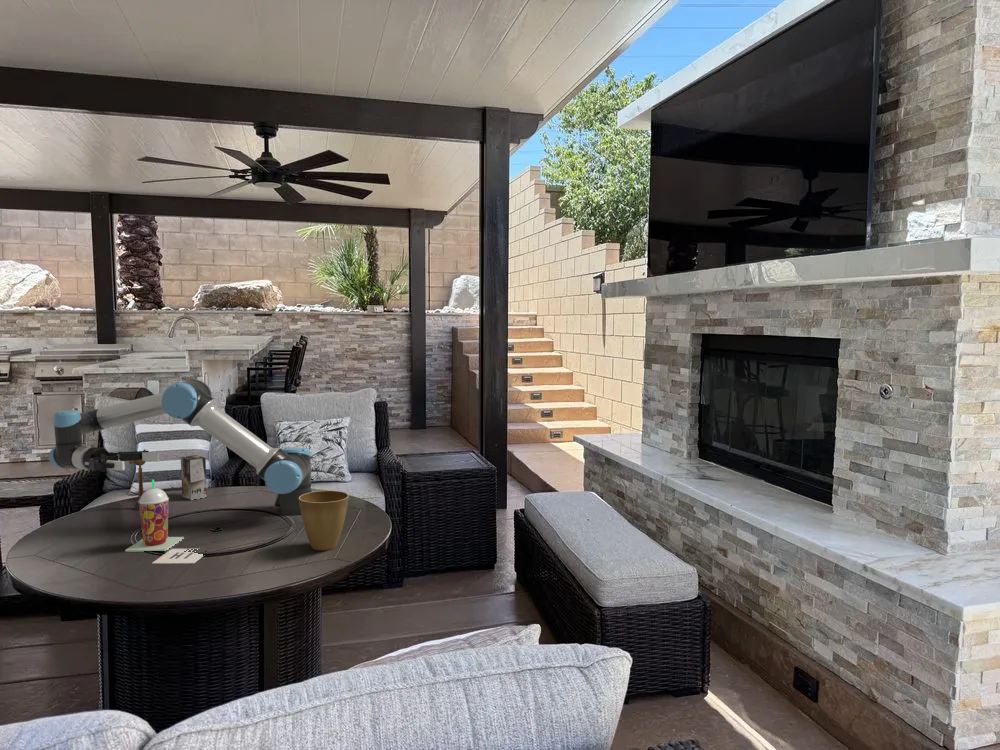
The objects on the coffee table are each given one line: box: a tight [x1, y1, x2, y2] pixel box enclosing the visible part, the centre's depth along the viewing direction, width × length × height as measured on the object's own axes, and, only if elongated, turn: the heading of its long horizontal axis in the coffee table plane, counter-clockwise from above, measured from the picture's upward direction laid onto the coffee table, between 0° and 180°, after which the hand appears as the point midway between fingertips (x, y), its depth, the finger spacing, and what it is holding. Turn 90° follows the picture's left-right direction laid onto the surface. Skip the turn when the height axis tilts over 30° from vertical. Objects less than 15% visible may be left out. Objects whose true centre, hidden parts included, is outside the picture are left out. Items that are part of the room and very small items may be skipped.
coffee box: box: [180, 454, 208, 501], centre depth 260 cm, size 9×6×16 cm
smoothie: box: [139, 479, 170, 546], centre depth 204 cm, size 8×8×20 cm
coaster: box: [124, 536, 185, 553], centre depth 204 cm, size 12×12×1 cm
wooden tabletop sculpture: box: [128, 460, 147, 511], centre depth 244 cm, size 6×5×20 cm
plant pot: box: [299, 490, 350, 551], centre depth 203 cm, size 15×15×16 cm
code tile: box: [151, 548, 204, 565], centre depth 195 cm, size 12×12×1 cm
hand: (141, 461), depth 212 cm, fingers open, 13 cm apart
